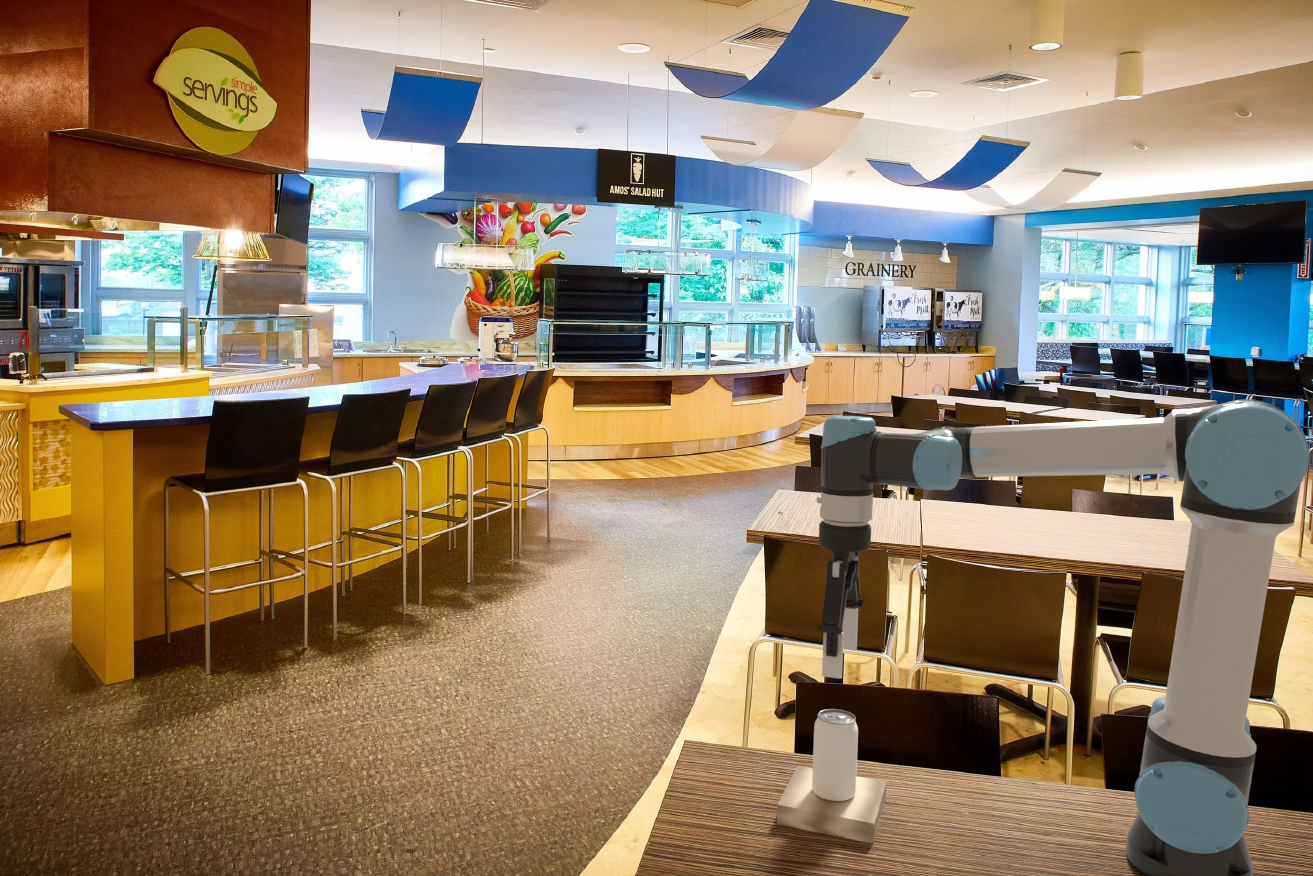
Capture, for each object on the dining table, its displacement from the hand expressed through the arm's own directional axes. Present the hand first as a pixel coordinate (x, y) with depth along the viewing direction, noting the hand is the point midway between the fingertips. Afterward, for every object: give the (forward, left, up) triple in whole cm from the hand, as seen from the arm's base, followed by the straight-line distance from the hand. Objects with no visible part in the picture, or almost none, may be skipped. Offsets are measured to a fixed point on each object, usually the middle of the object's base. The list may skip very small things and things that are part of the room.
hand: (840, 662), depth 140 cm
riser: (0, 0, -23) cm, 23 cm away
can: (0, 0, -21) cm, 21 cm away
